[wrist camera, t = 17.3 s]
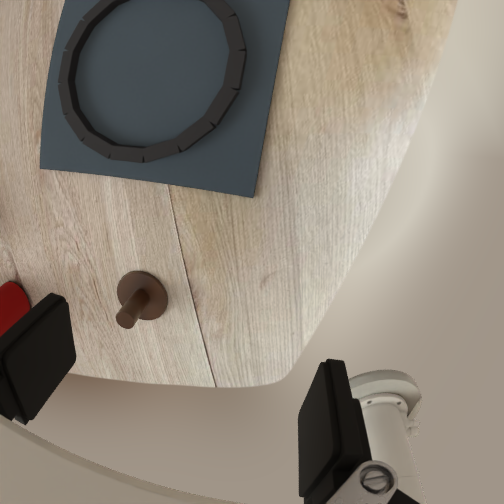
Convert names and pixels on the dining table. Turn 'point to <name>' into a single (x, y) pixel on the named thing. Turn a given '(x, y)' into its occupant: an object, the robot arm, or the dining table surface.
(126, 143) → the mat
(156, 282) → the brown peg stand
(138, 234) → the dining table surface
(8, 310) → the beverage can
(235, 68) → the ring
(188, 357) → the dining table surface
